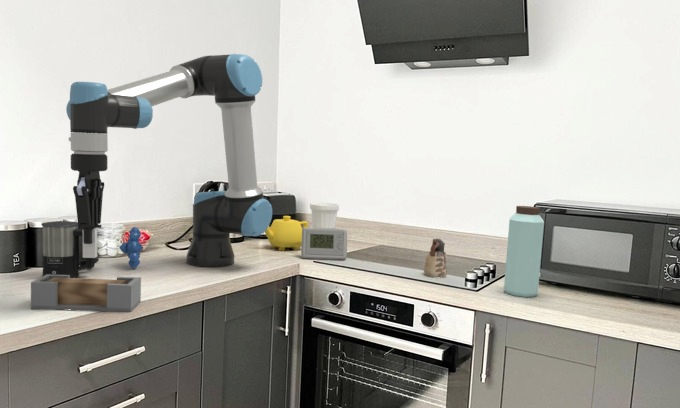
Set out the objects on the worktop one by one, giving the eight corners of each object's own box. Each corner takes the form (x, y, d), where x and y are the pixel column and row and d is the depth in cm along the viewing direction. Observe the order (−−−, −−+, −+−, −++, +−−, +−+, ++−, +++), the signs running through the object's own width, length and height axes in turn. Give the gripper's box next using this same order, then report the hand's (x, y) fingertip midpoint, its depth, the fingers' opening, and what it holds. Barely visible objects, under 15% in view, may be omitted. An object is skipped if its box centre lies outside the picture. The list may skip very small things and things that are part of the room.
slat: (124, 301, 132) (125, 280, 131) (119, 305, 128) (119, 284, 127) (54, 298, 131) (54, 277, 130) (46, 303, 127) (46, 281, 126)
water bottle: (497, 288, 168) (504, 204, 165) (529, 289, 168) (537, 206, 166) (510, 297, 158) (517, 208, 155) (544, 298, 158) (552, 209, 156)
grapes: (119, 263, 175) (120, 224, 174) (143, 262, 177) (143, 224, 176) (117, 271, 164) (118, 230, 163) (142, 271, 166) (143, 230, 165)
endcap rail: (140, 302, 134) (140, 277, 134) (130, 311, 126) (131, 285, 126) (46, 299, 132) (46, 274, 132) (30, 309, 124) (30, 282, 124)
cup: (326, 243, 230) (328, 206, 229) (302, 239, 237) (303, 203, 236) (343, 240, 241) (345, 204, 239) (319, 236, 247) (320, 202, 246)
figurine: (450, 276, 181) (453, 239, 180) (437, 278, 176) (440, 240, 175) (432, 272, 186) (435, 235, 185) (419, 274, 181) (421, 237, 180)
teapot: (252, 246, 215) (253, 214, 214) (299, 244, 226) (300, 213, 224) (266, 253, 204) (267, 218, 203) (315, 250, 214) (316, 218, 213)
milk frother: (39, 281, 148) (39, 225, 147) (45, 268, 163) (45, 217, 161) (98, 279, 154) (98, 225, 152) (98, 267, 168) (99, 217, 167)
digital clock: (298, 259, 196) (300, 228, 195) (303, 254, 205) (304, 225, 204) (345, 262, 195) (347, 232, 194) (347, 257, 203) (349, 228, 202)
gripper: (82, 151, 132) (83, 251, 135) (59, 153, 119) (61, 263, 122) (115, 152, 133) (116, 251, 135) (96, 154, 120) (97, 263, 122)
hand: (90, 257), depth 129 cm, fingers closed
